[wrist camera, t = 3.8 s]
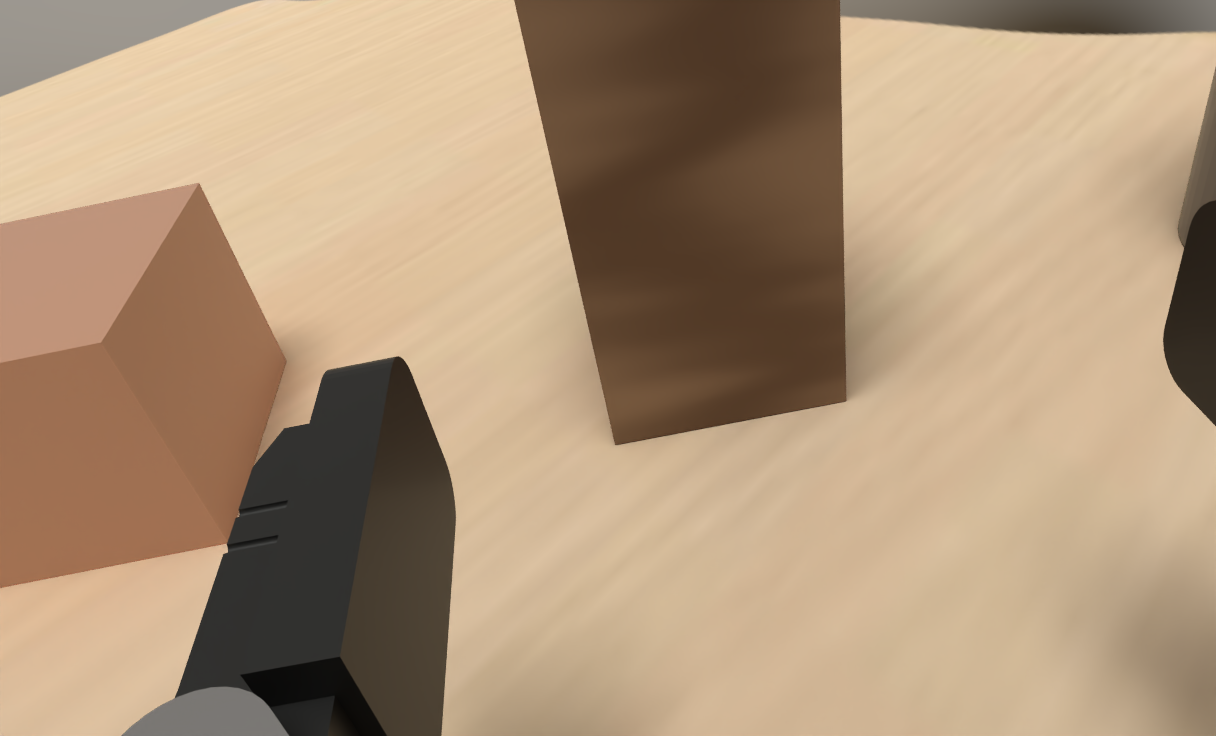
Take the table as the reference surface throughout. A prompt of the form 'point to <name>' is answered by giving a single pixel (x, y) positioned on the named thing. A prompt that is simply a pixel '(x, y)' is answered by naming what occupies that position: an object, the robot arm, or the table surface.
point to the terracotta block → (125, 384)
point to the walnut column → (699, 200)
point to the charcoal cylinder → (1201, 168)
